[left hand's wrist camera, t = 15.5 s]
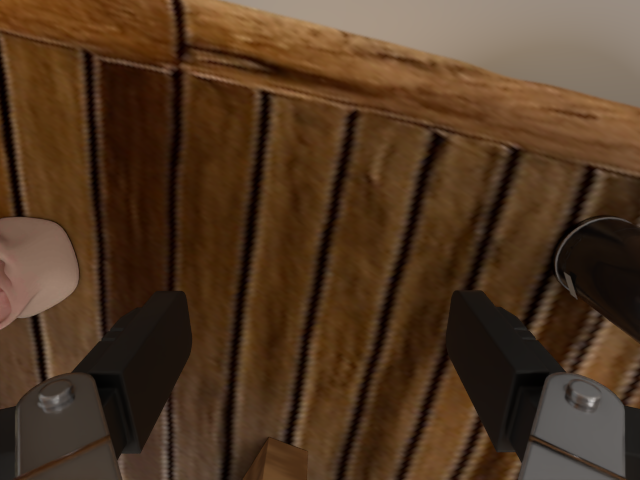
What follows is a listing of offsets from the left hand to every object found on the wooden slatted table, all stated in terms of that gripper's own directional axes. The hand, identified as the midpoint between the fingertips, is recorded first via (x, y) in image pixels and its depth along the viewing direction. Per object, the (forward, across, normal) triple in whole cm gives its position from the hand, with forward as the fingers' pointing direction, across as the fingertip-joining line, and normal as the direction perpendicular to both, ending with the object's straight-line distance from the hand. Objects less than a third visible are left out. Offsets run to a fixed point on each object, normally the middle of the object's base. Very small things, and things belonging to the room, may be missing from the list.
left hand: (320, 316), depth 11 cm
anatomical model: (+29, -34, -12) cm, 46 cm away
